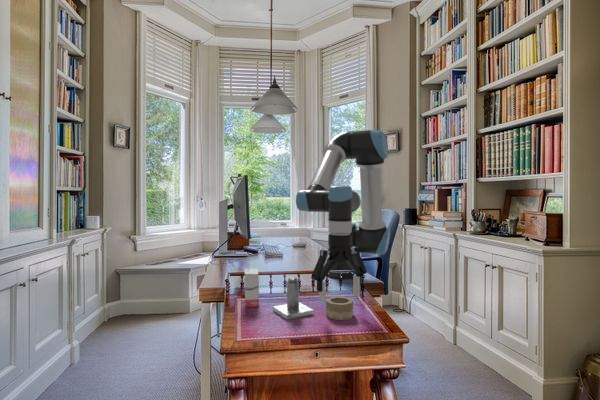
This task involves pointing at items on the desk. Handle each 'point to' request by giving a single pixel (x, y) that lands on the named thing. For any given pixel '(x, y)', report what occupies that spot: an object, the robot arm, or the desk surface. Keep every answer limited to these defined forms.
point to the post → (293, 303)
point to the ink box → (251, 288)
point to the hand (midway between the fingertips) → (339, 298)
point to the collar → (339, 308)
